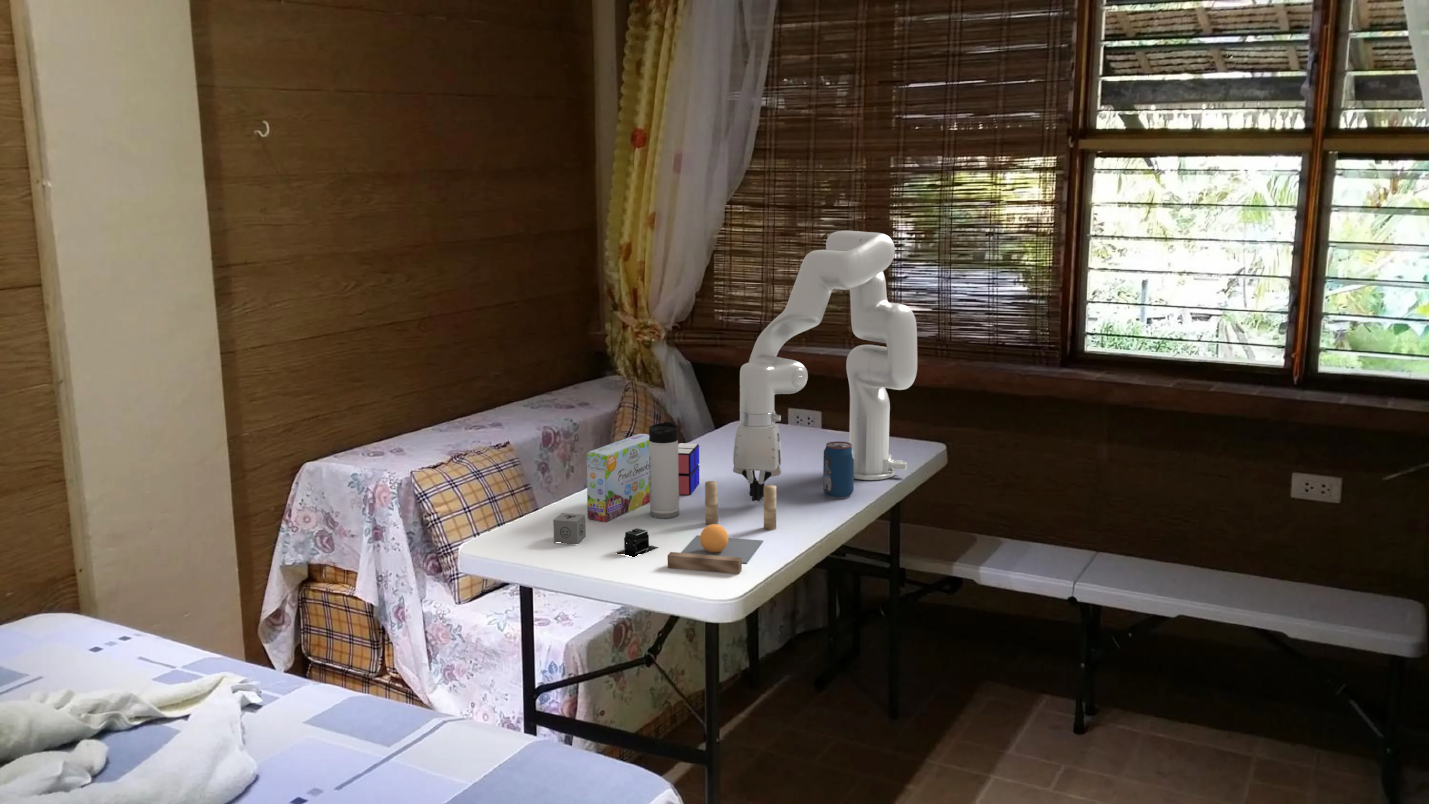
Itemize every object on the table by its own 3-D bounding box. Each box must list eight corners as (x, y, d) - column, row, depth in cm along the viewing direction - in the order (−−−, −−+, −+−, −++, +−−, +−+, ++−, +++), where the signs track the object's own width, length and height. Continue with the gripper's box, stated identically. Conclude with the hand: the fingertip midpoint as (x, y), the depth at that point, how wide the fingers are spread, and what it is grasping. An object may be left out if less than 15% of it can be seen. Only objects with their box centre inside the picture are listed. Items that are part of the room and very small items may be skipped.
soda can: (857, 493, 285) (858, 442, 283) (847, 500, 279) (848, 449, 277) (829, 489, 288) (829, 439, 286) (818, 497, 282) (819, 446, 280)
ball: (731, 549, 247) (731, 522, 246) (724, 557, 241) (724, 529, 240) (704, 547, 248) (704, 520, 247) (696, 554, 243) (696, 526, 242)
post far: (719, 522, 264) (718, 481, 262) (715, 525, 262) (715, 484, 260) (707, 521, 265) (707, 480, 263) (704, 524, 262) (703, 483, 260)
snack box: (608, 523, 264) (606, 454, 261) (586, 519, 267) (584, 451, 264) (660, 498, 282) (659, 434, 279) (639, 495, 285) (638, 431, 282)
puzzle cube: (690, 496, 284) (690, 453, 282) (648, 494, 286) (647, 452, 284) (699, 484, 294) (699, 443, 292) (658, 482, 296) (658, 441, 294)
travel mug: (683, 511, 272) (682, 422, 268) (672, 519, 266) (671, 429, 262) (657, 508, 274) (655, 420, 270) (645, 517, 268) (644, 427, 264)
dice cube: (585, 537, 254) (585, 514, 253) (577, 545, 250) (576, 521, 249) (562, 536, 256) (562, 512, 255) (554, 543, 251) (553, 519, 250)
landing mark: (763, 541, 251) (763, 540, 251) (746, 563, 238) (746, 562, 238) (696, 536, 255) (696, 535, 255) (676, 557, 242) (676, 556, 241)
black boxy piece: (643, 542, 253) (643, 520, 252) (671, 548, 249) (670, 527, 248) (602, 558, 243) (601, 536, 243) (630, 565, 239) (630, 543, 238)
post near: (777, 526, 261) (777, 485, 259) (774, 530, 258) (774, 488, 256) (765, 525, 261) (765, 484, 259) (762, 529, 259) (762, 487, 257)
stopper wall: (741, 570, 234) (741, 557, 234) (739, 573, 232) (739, 561, 232) (670, 564, 238) (670, 551, 237) (667, 567, 236) (667, 555, 235)
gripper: (794, 417, 273) (793, 497, 277) (728, 413, 277) (728, 492, 281) (787, 424, 266) (786, 506, 270) (719, 420, 270) (720, 502, 274)
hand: (757, 499), depth 275 cm, fingers closed
